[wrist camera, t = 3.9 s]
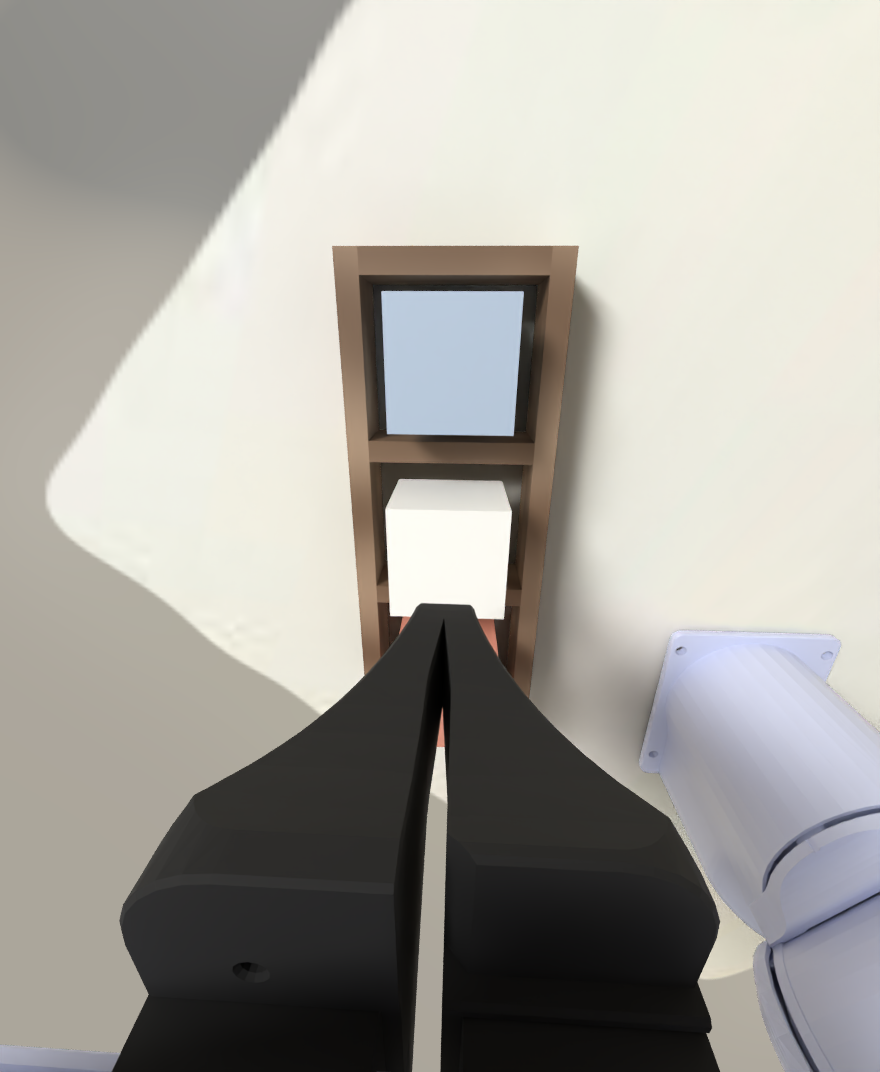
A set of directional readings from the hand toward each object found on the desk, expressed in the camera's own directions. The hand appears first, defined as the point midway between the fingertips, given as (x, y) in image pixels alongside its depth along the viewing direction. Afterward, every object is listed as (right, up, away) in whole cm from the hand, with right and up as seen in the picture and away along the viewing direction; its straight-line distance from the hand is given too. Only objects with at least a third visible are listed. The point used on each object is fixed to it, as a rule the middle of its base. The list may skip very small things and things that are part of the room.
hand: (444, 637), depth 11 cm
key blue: (0, +9, +5) cm, 10 cm away
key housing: (0, +4, +9) cm, 10 cm away
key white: (0, +3, +7) cm, 8 cm away
